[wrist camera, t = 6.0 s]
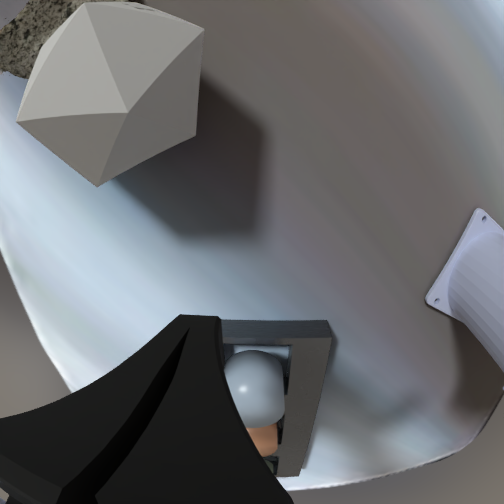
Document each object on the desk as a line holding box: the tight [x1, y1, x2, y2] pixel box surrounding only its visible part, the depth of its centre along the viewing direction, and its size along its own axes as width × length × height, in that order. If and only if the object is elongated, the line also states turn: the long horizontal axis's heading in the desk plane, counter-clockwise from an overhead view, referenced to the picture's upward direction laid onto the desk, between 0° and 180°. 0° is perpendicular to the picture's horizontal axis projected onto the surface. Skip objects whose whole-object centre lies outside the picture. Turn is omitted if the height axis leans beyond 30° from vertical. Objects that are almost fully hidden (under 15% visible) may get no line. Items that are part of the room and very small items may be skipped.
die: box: [16, 2, 205, 187], centre depth 11 cm, size 8×9×10 cm
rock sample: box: [0, 0, 128, 79], centre depth 11 cm, size 10×8×9 cm
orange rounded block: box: [246, 422, 277, 457], centre depth 22 cm, size 4×4×4 cm
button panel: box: [221, 319, 332, 477], centre depth 23 cm, size 21×10×2 cm, turn 0°
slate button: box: [224, 350, 285, 428], centre depth 17 cm, size 4×4×4 cm
